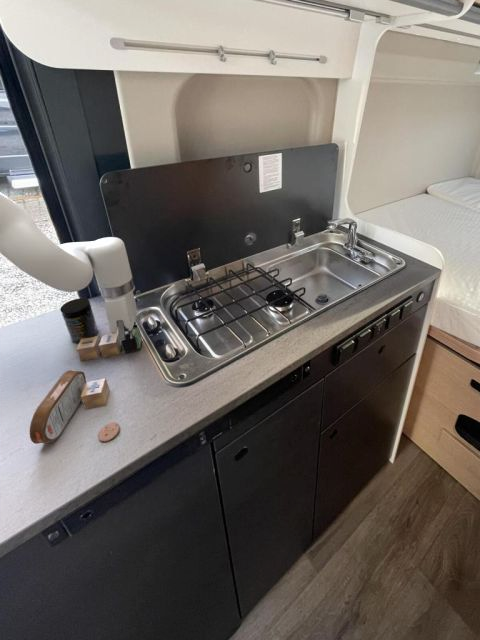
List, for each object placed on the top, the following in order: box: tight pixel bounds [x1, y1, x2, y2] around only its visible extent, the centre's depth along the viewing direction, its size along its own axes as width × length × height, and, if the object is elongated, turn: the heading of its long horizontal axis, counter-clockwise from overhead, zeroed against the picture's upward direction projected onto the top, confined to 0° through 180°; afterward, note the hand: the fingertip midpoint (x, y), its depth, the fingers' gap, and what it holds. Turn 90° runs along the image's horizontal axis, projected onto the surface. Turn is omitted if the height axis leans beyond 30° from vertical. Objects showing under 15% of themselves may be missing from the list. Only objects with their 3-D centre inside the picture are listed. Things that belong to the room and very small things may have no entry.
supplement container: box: [59, 297, 99, 344], centre depth 90 cm, size 7×7×10 cm
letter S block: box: [121, 326, 143, 351], centre depth 88 cm, size 4×4×4 cm
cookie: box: [97, 422, 120, 442], centre depth 66 cm, size 4×4×1 cm
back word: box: [76, 332, 144, 362], centre depth 87 cm, size 14×5×4 cm, turn 107°
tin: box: [29, 369, 87, 445], centre depth 68 cm, size 15×3×8 cm, turn 4°
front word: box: [81, 377, 110, 410], centre depth 73 cm, size 4×4×4 cm
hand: (132, 342), depth 88 cm, fingers closed on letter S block, 4 cm apart
